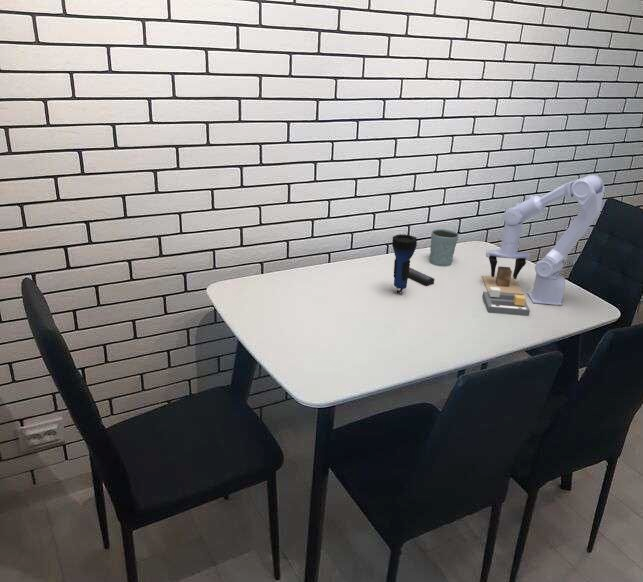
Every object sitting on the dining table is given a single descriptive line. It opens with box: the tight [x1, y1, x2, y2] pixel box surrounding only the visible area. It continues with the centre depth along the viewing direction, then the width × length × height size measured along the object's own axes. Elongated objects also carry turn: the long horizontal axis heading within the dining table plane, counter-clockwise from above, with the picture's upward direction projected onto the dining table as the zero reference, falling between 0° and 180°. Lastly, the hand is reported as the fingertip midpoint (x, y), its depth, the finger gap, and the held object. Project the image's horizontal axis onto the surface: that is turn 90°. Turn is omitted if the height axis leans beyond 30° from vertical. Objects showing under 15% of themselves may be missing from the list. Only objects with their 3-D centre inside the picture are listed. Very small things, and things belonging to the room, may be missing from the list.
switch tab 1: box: [489, 287, 501, 297], centre depth 192 cm, size 3×3×2 cm
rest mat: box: [481, 275, 524, 295], centre depth 206 cm, size 12×14×1 cm
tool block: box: [495, 265, 513, 287], centre depth 205 cm, size 4×4×6 cm
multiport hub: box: [408, 267, 435, 287], centre depth 209 cm, size 4×14×2 cm, turn 37°
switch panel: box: [482, 291, 531, 317], centre depth 190 cm, size 13×12×2 cm
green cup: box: [429, 228, 459, 267], centre depth 222 cm, size 10×10×12 cm
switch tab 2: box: [513, 294, 526, 306], centre depth 187 cm, size 3×3×2 cm
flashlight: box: [392, 233, 418, 294], centre depth 192 cm, size 8×8×20 cm
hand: (503, 276), depth 205 cm, fingers open, 7 cm apart
